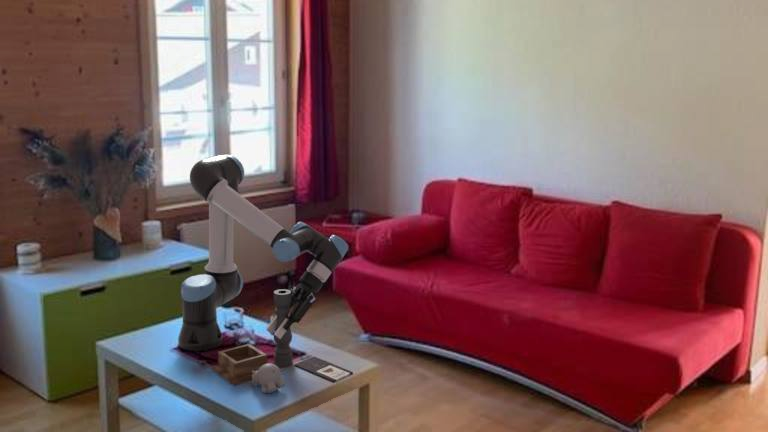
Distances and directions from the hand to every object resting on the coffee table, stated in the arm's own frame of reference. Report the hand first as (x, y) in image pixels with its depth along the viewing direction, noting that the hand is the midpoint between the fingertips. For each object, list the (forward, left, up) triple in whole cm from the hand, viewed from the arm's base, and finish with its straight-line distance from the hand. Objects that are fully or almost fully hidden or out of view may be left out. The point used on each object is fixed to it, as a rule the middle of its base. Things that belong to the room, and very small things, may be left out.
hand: (273, 334), depth 252 cm
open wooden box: (-2, -10, -11) cm, 15 cm away
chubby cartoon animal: (+13, -10, -12) cm, 20 cm away
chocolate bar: (+12, +12, -12) cm, 20 cm away
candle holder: (0, +4, -11) cm, 12 cm away
